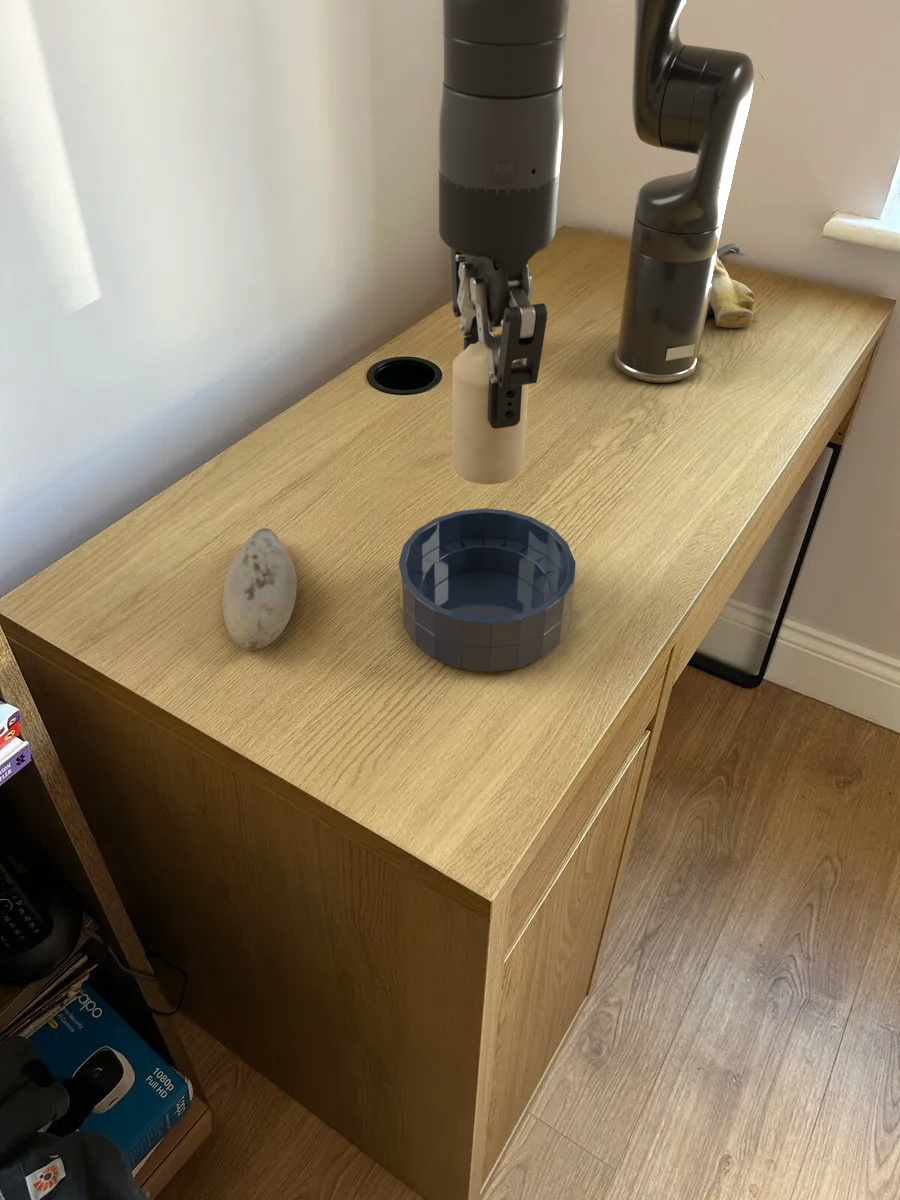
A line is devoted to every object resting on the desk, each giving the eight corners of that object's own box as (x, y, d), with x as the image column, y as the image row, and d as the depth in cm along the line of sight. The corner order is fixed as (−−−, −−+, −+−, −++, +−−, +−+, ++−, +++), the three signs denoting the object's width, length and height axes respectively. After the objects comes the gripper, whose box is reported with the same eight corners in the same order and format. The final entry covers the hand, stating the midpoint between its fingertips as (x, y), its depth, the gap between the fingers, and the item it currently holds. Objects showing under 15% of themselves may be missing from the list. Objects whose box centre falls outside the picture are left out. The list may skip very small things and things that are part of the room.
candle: (517, 489, 72) (524, 369, 65) (445, 480, 73) (445, 360, 66) (527, 449, 76) (536, 332, 69) (459, 441, 77) (461, 324, 70)
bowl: (480, 541, 89) (482, 488, 85) (602, 614, 82) (611, 560, 78) (367, 616, 82) (363, 562, 78) (490, 704, 75) (493, 649, 71)
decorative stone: (298, 541, 89) (294, 512, 87) (298, 661, 78) (294, 630, 76) (231, 546, 89) (226, 516, 86) (221, 667, 77) (214, 636, 75)
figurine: (770, 311, 119) (738, 246, 129) (735, 296, 117) (706, 231, 127) (743, 344, 123) (714, 278, 132) (709, 330, 121) (682, 264, 130)
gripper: (600, 198, 55) (573, 448, 66) (519, 123, 65) (508, 351, 77) (474, 210, 54) (469, 464, 65) (412, 132, 64) (416, 363, 75)
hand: (490, 402), depth 71 cm, fingers closed on candle, 5 cm apart
